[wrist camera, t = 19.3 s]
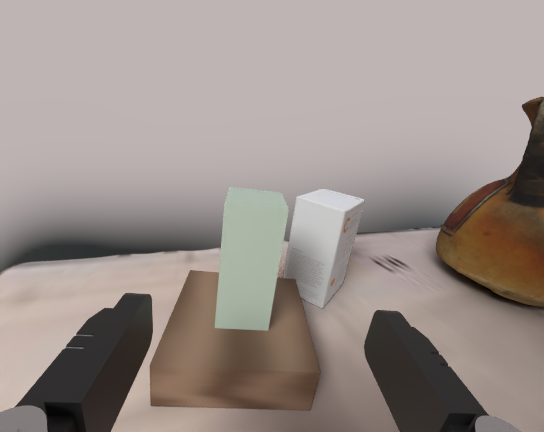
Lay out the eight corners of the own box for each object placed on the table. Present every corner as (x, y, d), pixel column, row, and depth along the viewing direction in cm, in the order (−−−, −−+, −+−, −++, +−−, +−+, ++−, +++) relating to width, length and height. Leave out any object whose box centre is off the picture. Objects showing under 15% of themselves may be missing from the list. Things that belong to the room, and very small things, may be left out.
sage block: (265, 297, 26) (281, 192, 23) (268, 330, 22) (288, 208, 18) (220, 294, 26) (229, 186, 22) (214, 328, 21) (224, 202, 18)
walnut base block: (290, 307, 31) (295, 279, 30) (310, 410, 20) (320, 372, 19) (189, 299, 30) (190, 270, 29) (150, 406, 19) (149, 365, 18)
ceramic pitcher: (564, 291, 46) (675, 111, 36) (583, 349, 32) (774, 78, 22) (441, 247, 58) (498, 103, 48) (414, 274, 44) (487, 79, 34)
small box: (305, 266, 41) (322, 187, 37) (343, 283, 38) (366, 199, 34) (279, 288, 35) (295, 195, 31) (322, 310, 32) (347, 210, 27)
